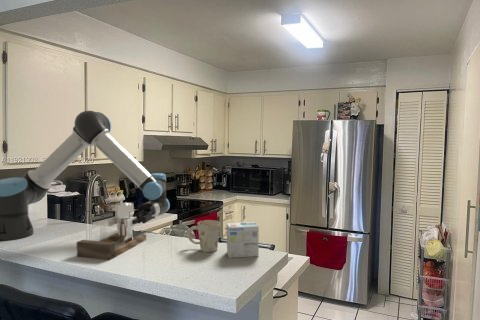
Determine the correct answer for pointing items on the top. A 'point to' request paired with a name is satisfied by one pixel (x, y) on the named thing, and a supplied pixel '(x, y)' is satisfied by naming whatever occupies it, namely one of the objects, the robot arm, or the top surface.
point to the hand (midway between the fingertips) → (117, 223)
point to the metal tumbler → (124, 222)
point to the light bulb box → (242, 239)
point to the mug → (206, 235)
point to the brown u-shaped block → (105, 247)
